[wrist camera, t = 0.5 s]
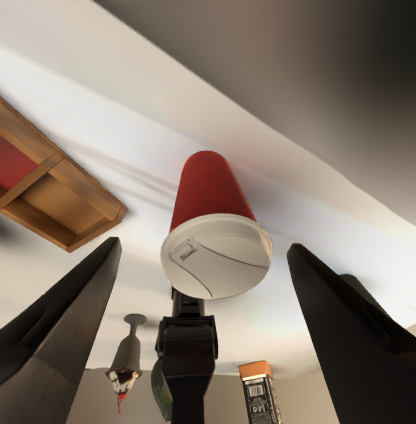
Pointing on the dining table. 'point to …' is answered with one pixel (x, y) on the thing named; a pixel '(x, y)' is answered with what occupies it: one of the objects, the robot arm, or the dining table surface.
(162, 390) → the squash
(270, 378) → the whiskey bottle
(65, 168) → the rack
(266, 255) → the paper cup
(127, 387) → the sundae
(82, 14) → the dining table surface
